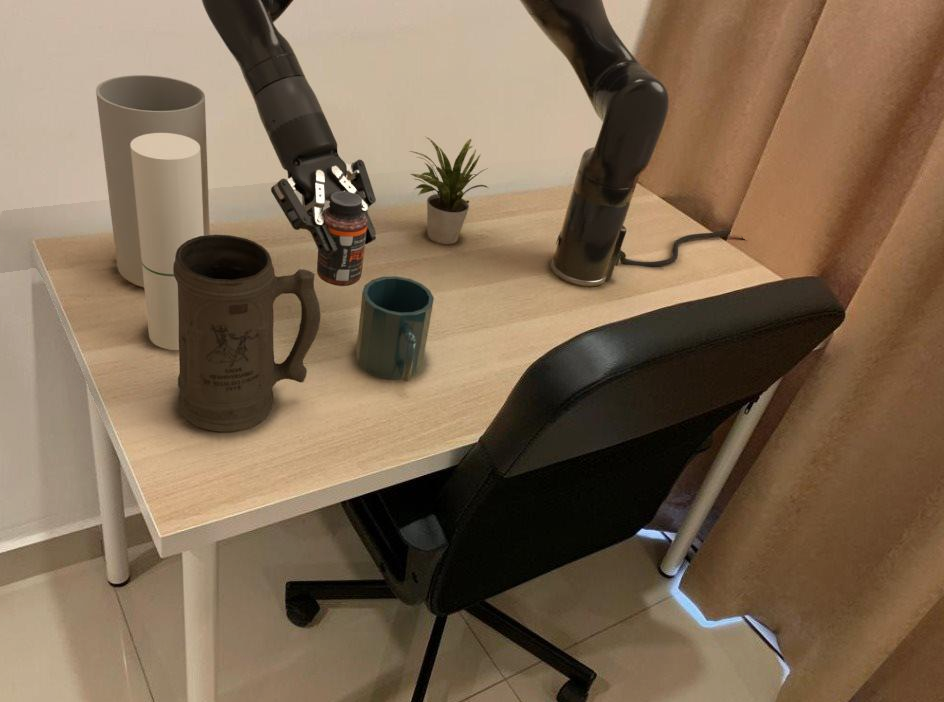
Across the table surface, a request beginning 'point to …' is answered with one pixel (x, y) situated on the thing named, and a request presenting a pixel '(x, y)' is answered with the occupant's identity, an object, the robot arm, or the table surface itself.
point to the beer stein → (235, 330)
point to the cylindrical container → (165, 221)
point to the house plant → (447, 195)
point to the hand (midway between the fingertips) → (351, 248)
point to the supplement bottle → (344, 240)
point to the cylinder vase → (135, 114)
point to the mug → (393, 327)
